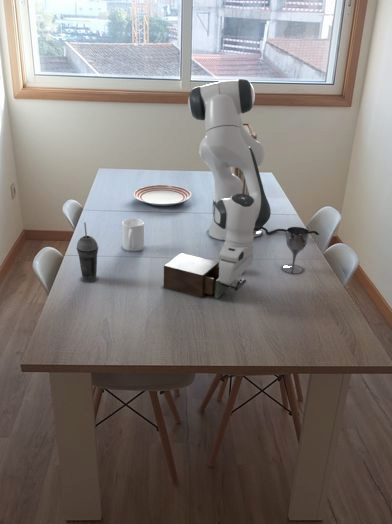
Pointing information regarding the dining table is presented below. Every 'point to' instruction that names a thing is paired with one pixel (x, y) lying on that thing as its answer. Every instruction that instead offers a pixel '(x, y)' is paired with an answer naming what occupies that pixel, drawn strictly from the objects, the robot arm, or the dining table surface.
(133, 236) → the mug
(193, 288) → the cabinet
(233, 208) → the robot arm
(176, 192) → the dinner plate
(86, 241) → the beverage cup
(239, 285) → the drawer
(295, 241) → the wine glass
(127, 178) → the dining table surface
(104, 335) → the dining table surface
